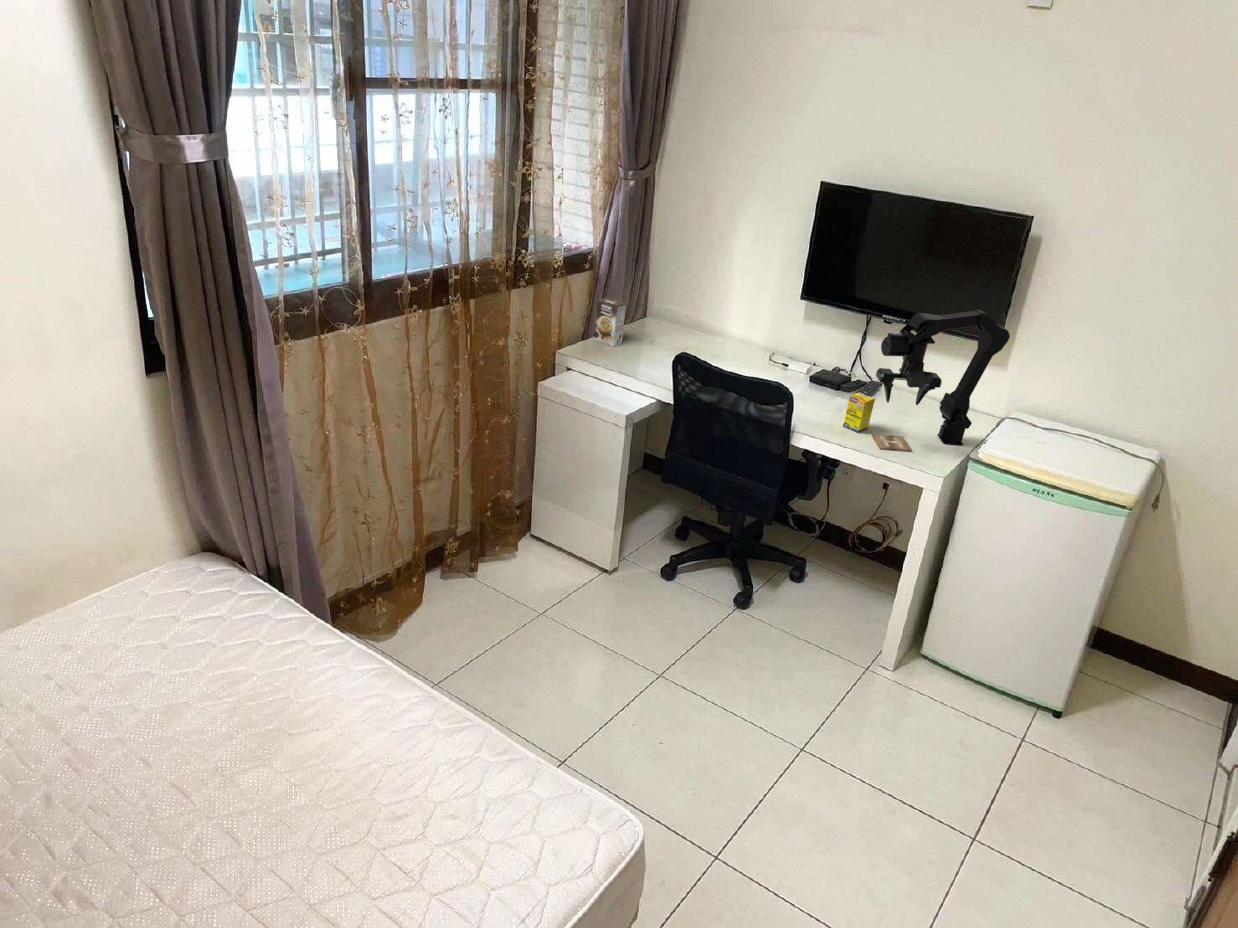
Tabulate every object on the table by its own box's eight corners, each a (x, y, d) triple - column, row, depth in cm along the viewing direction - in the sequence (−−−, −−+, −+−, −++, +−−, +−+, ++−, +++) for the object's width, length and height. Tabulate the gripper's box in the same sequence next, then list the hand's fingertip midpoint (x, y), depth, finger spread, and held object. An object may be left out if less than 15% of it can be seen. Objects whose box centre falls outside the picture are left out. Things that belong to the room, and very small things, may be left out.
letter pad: (902, 438, 284) (902, 436, 283) (911, 452, 275) (911, 450, 275) (871, 435, 283) (871, 433, 283) (879, 449, 274) (879, 447, 274)
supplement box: (842, 426, 287) (849, 395, 282) (852, 422, 291) (859, 391, 286) (858, 433, 284) (865, 402, 279) (868, 428, 288) (875, 398, 283)
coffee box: (593, 340, 339) (596, 299, 332) (603, 336, 344) (607, 296, 336) (613, 347, 335) (616, 305, 327) (622, 343, 339) (626, 302, 332)
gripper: (891, 362, 260) (879, 411, 267) (953, 368, 261) (939, 416, 268) (881, 349, 270) (869, 396, 277) (941, 355, 271) (928, 402, 278)
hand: (902, 403), depth 275 cm, fingers open, 9 cm apart
